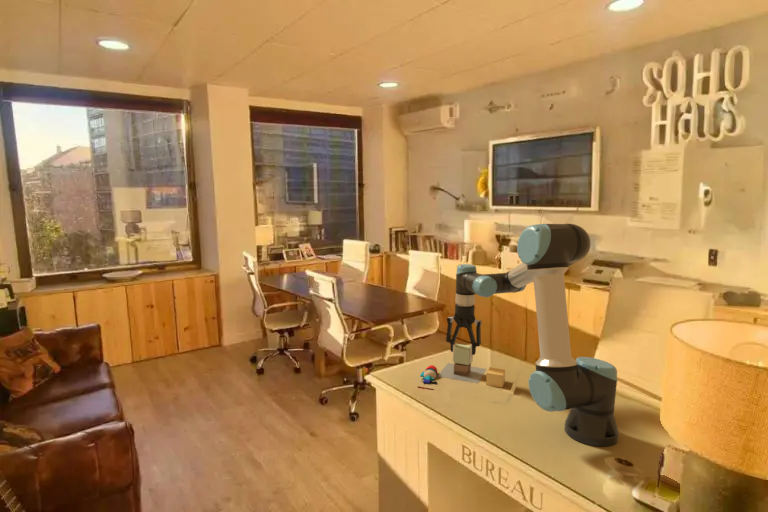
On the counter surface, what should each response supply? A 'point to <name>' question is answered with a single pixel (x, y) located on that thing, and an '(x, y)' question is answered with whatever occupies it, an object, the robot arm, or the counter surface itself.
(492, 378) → the ochre brick
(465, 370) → the brown brick
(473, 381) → the baseplate
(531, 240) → the robot arm
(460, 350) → the sage brick
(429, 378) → the toy figure
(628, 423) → the counter surface
